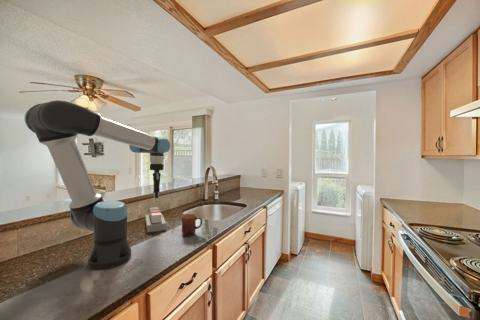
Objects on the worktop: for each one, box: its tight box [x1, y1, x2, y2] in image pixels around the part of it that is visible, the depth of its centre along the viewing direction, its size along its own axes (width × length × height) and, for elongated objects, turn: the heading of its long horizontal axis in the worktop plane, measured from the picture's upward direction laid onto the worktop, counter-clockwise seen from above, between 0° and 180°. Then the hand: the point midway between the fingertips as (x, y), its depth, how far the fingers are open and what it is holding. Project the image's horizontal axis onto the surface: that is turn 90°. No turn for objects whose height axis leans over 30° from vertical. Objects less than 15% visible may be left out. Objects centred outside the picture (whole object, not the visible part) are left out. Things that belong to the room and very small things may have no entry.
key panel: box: [145, 212, 167, 233], centre depth 126 cm, size 10×23×4 cm, turn 27°
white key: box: [151, 212, 161, 223], centre depth 119 cm, size 5×5×4 cm
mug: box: [180, 213, 203, 237], centre depth 112 cm, size 12×9×10 cm
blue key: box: [149, 206, 160, 217], centre depth 133 cm, size 5×5×4 cm
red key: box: [151, 209, 161, 213], centre depth 126 cm, size 5×5×4 cm
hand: (156, 203), depth 119 cm, fingers closed
